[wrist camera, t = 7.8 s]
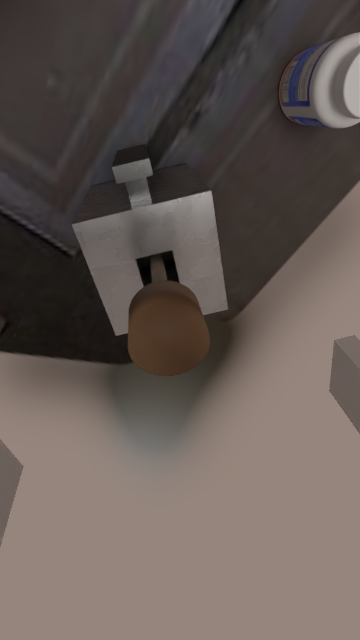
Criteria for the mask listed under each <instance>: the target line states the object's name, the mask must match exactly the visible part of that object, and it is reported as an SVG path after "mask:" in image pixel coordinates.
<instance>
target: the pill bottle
mask: <svg viewBox="0 0 360 640" xmlns="http://www.w3.org/2000/svg"><path fill="white" fill-rule="evenodd" d="M279 101H280V105H281V108H282V111H283V112H284V114H285V115H286V117H287V118H288V119H290V120H291V121H293V122H295V123H297V124H302V125H311V126H320V127H329V128H346V127H350V126H353V125H355V124H357V123H359V122H360V32H359V33H353V34H350V35H346V36H344V37H341V38H338V39H335V40H332V41H329V42H326V43H323V44H320V45H317V46H314V47H311V48H308V49H306V50H304V51H302V52H301V53H299V54H298V55H297V56H295V57H294V58H293V59H292V60H291V62H290V63H289V64H288V66H287V67H286V69H285V71H284V73H283V75H282V78H281V81H280V86H279Z"/></svg>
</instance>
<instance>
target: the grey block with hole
mask: <svg viewBox="0 0 360 640" xmlns="http://www.w3.org/2000/svg"><path fill="white" fill-rule="evenodd" d="M112 169H113V173H114V176H115V180H113V181H109V182H105V183H101V184H97V185H92V186H91V188H90V190H89V192H88V194H87V196H86V198H85V200H84V202H83V204H82V206H81V207H80V209H79V211H78V213H77V215H76V217H75V219H74V221H73V223H72V227H73V229H74V232H75V234H76V237H77V239H78V242H79V244H80V247H81V249H82V252H83V254H84V257H85V259H86V262H87V264H88V267H89V269H90V272H91V274H92V277H93V279H94V282H95V284H96V287H97V289H98V292H99V294H100V297H101V299H102V302H103V304H104V307H105V309H106V312H107V314H108V317H109V319H110V322H111V324H112V327H113V330H114V332H115V335H116V336H118V335H122V334H126V333H128V318H129V306H130V303H131V300H132V299H133V297H134V296H135V294H136V293H137V292H138V291H139V290H140V289H142V288H143V287H145V286H146V285H149V284H151V283H152V275H151V266H148V267H144V268H139V264H138V261H137V258H141V257H145V256H150V255H154V254H158V253H162V252H166V251H170V250H172V252H173V256H174V260H173V261H169V262H164V266H165V271H166V276H167V281H174V282H178V283H181V284H183V285H185V286H186V287H188V288H189V289H190V290H191V291H192V292H193V293H194V294H195V296H196V297H197V299H198V302H199V305H200V308H201V311H202V314H203V315H206V314H210V313H214V312H218V311H223V310H227V309H228V306H227V299H226V291H225V284H224V277H223V270H222V263H221V256H220V249H219V241H218V234H217V227H216V220H215V213H214V206H213V199H212V191H211V190H210V189H209V187H208V186H207V185H206V184H205V183H204V182H203V181H202V180H201V179H200V178H199V177H198V176H197V175H196V173H195V172H194V171H193V170H192V169H191V168H190V167H189V166H188V165H187V164H186V163H183V164H179V165H174V166H170V167H166V168H162V169H158V170H154V171H152V168H151V163H150V159H149V156H148V152H147V149H146V146H145V144H144V145H140V146H136V147H132V148H127V149H123V150H119V151H117V154H116V157H115V160H114V163H113V166H112Z"/></svg>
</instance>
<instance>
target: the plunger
mask: <svg viewBox="0 0 360 640" xmlns="http://www.w3.org/2000/svg"><path fill="white" fill-rule="evenodd" d="M173 260H174V256H173V252H172V250H170V251H166V252H162V253H158V254H154V255H150V256H145V257H141V258H137V261H138V264H139V268H144V267H148V266H151V275H152V283H151V284H149V285H146V286H145V287H143V288H142V289H140V290H139V291H138V292H137V293H136V294H135V296H134V297H133V299H132V300H131V303H130V306H129V318H128V351H129V355H130V357H131V359H132V360H133V362H134V363H135V364H136V365H137V366H138V367H139V368H140V369H142V370H144V371H146V372H148V373H150V374H154V375H159V376H173V375H178V374H182V373H185V372H187V371H189V370H191V369H193V368H194V367H196V366H197V365H198V364H199V363H200V362H201V361H202V360H203V359H204V358H205V356H206V354H207V352H208V349H209V346H210V335H209V332H208V329H207V326H206V323H205V320H204V317H203V314H202V311H201V308H200V305H199V302H198V299H197V297H196V296H195V294H194V293H193V292H192V291H191V290H190V289H189V288H188V287H186V286H185V285H183V284H181V283H178V282H174V281H167V276H166V271H165V266H164V262H169V261H173Z"/></svg>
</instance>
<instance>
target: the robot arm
mask: <svg viewBox="0 0 360 640" xmlns="http://www.w3.org/2000/svg"><path fill="white" fill-rule="evenodd" d="M329 391H330V392H331V394H332V395H333V396H334V398H335V399H336V400H337V402H338V404H339V405H340V407H341V408H342V409H343V411H344V412H345V414H346V415H347V416H348V418H349V419H350V421H351V422H352V423H353V425H354V426H355V428H356V429H357V431H358V432H359V433H360V340H359V339H358V338H357V337H356V336H355V335H353V336H349V337H345V338H341V339H337V340H334V348H333V358H332V369H331V380H330V390H329ZM22 469H23V465H22V464H21V463H20V462H19V461H18V460H17V458H16V457H15V456H14V455H13V454H12V453H11V452H10V450H9V449H8V448H7V447H6V446H5V444H4V443H3V442H2V441H1V440H0V546H1V542H2V538H3V535H4V532H5V528H6V525H7V521H8V518H9V514H10V511H11V508H12V504H13V501H14V497H15V494H16V490H17V487H18V483H19V480H20V476H21V473H22Z"/></svg>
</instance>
